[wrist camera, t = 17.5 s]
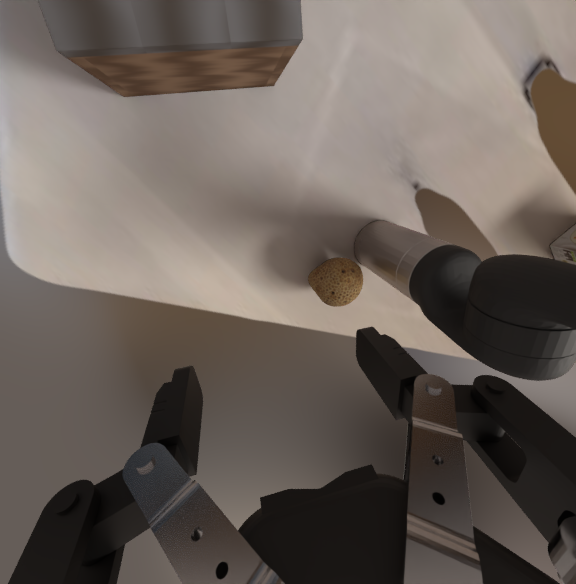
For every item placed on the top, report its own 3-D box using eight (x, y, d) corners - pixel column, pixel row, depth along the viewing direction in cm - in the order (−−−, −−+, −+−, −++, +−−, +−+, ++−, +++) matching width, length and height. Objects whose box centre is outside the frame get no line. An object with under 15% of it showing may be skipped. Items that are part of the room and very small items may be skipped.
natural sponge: (355, 277, 54) (381, 299, 45) (318, 300, 55) (336, 326, 46) (338, 240, 50) (362, 256, 41) (297, 265, 50) (313, 287, 42)
